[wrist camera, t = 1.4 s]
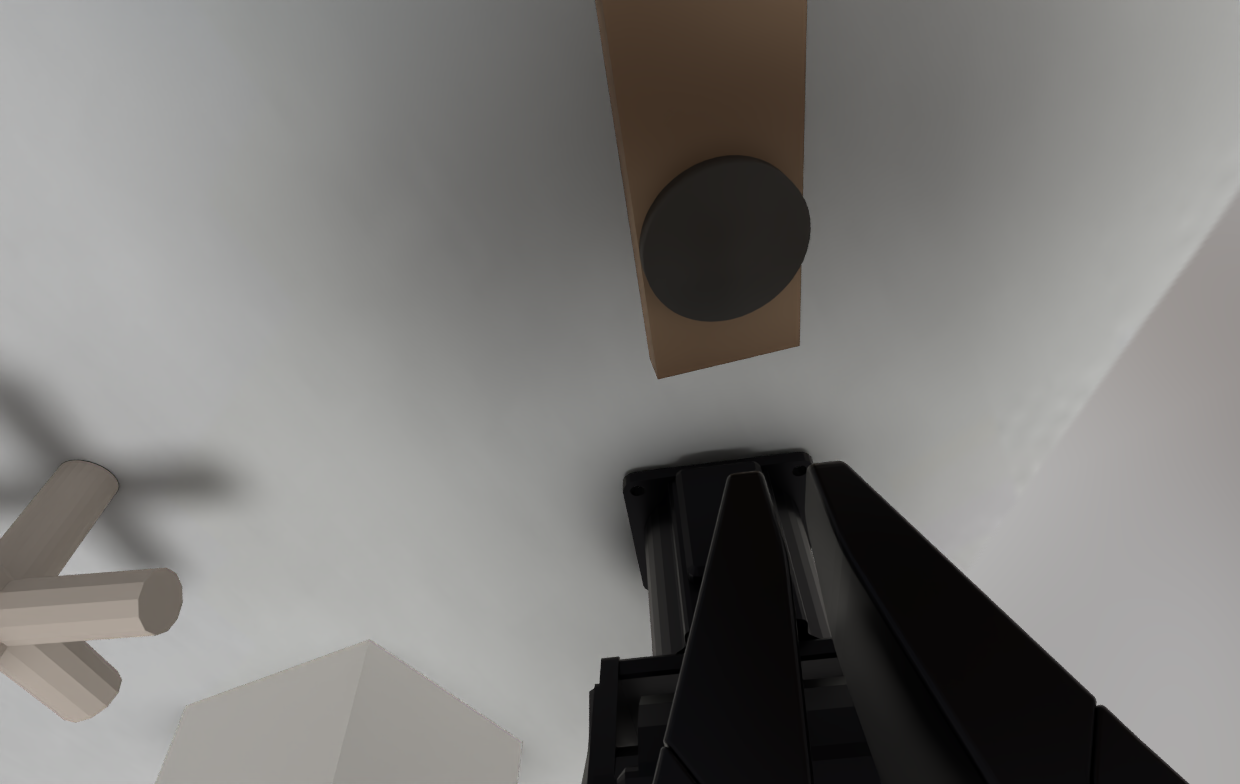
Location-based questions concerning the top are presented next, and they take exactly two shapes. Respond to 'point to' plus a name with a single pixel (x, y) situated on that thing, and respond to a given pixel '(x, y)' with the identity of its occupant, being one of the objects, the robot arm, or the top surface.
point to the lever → (711, 171)
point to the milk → (340, 729)
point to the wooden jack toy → (72, 597)
